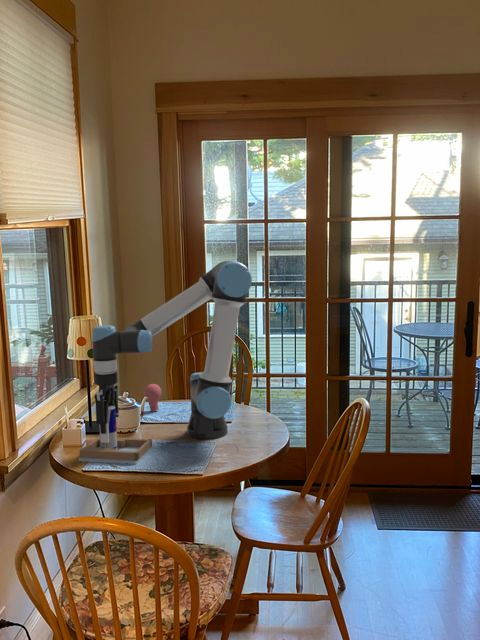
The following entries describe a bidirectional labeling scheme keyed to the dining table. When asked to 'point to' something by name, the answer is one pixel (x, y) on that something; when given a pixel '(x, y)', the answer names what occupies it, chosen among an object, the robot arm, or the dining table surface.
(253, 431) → the dining table surface
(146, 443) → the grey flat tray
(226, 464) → the dining table surface
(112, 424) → the beverage can
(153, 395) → the light bulb
